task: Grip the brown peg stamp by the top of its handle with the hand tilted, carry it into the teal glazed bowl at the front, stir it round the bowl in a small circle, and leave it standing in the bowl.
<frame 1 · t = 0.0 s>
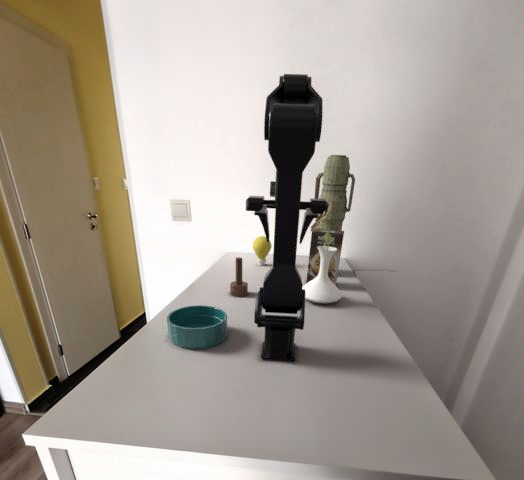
hand: (284, 242, 82), 15 cm above the table, tool pointing down, fingers open, 7 cm apart
flower in vase: (318, 300, 91), on the table, touching gripper
light bulb: (261, 265, 121), on the table
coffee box: (321, 285, 103), on the table
bowl: (198, 335, 70), on the table
brown peg stamp: (239, 293, 93), on the table
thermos: (323, 273, 115), on the table
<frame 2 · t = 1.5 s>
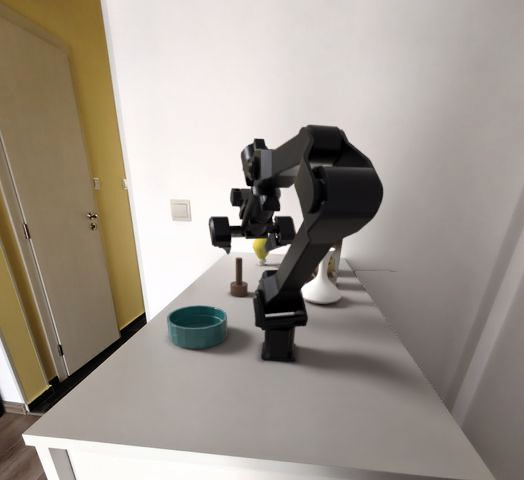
hand: (246, 251, 80), 13 cm above the table, tool tilted 45°, fingers open, 9 cm apart
flower in vase: (318, 301, 91), on the table
everything else where it was.
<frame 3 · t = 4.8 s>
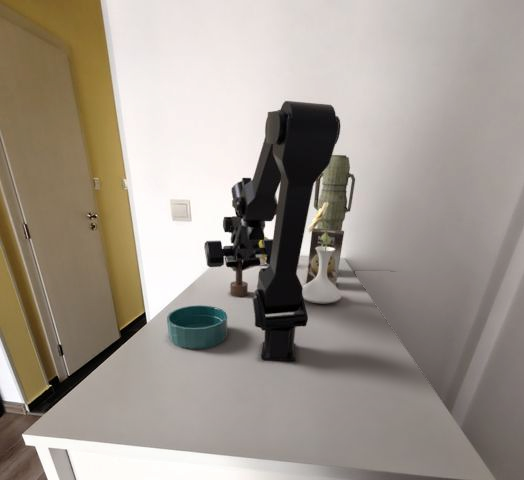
hand: (237, 269, 91), 7 cm above the table, tool tilted 45°, fingers closed on brown peg stamp
brown peg stamp: (239, 293, 93), on the table, touching gripper
everything else where it was.
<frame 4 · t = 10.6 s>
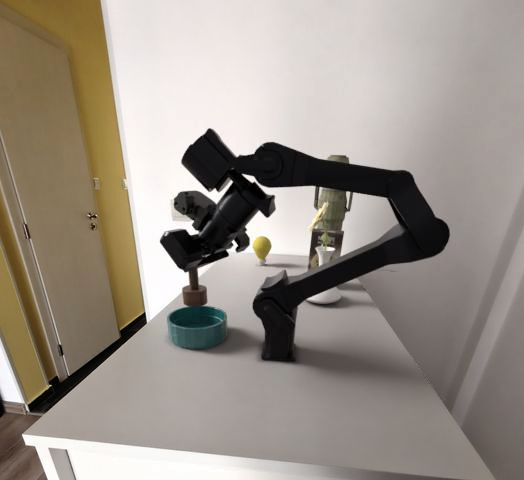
hand: (187, 269, 65), 14 cm above the table, tool tilted 45°, fingers closed on brown peg stamp
brown peg stamp: (195, 302, 67), point 7 cm above the table, touching gripper
everything else where it was.
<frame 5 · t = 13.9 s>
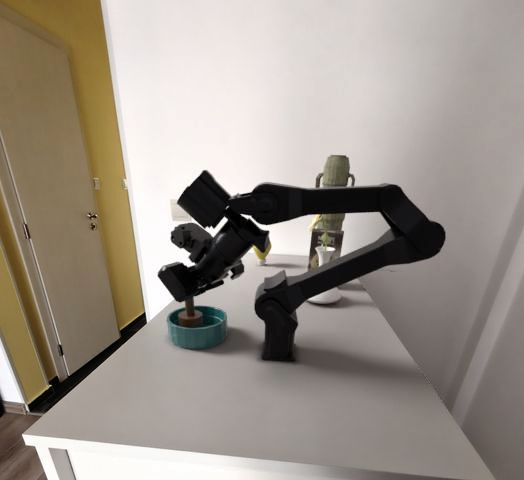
hand: (183, 296, 66), 9 cm above the table, tool tilted 45°, fingers closed on brown peg stamp
brown peg stamp: (191, 327, 69), point 2 cm above the table, touching gripper
everything else where it was.
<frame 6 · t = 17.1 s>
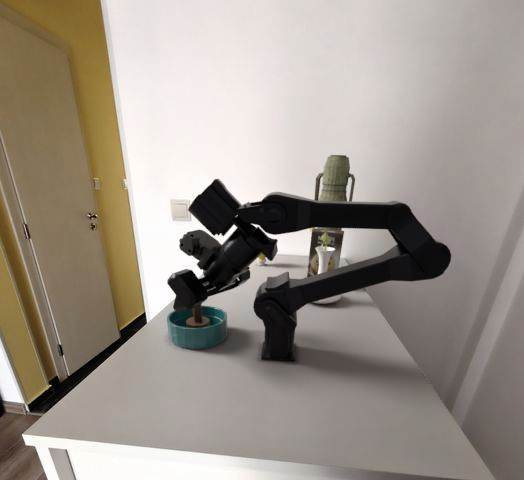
hand: (190, 301, 67), 7 cm above the table, tool tilted 45°, fingers open, 9 cm apart
brown peg stamp: (198, 333, 70), resting on bowl
everything else where it was.
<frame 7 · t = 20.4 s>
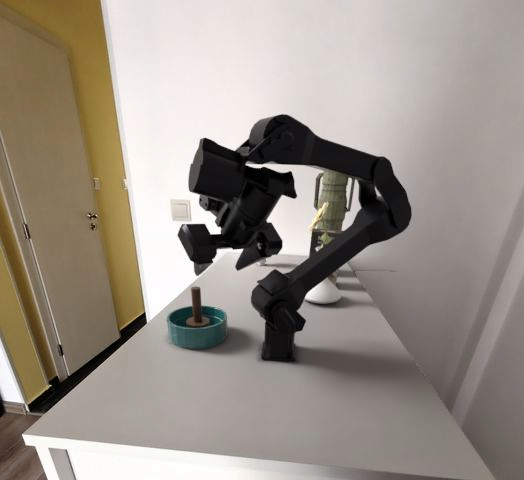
hand: (217, 271, 63), 14 cm above the table, tool tilted 40°, fingers open, 9 cm apart
nothing on the table moved.
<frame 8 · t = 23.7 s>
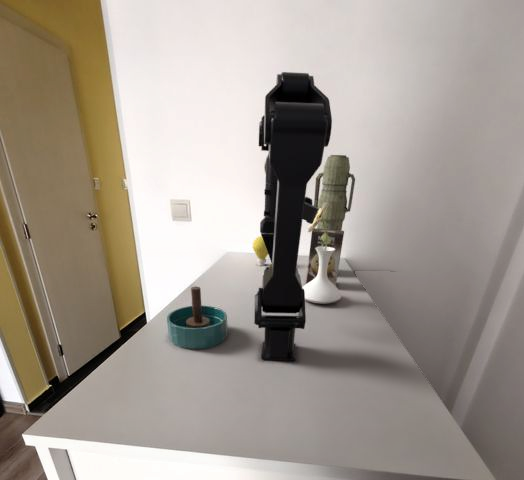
hand: (275, 259, 76), 13 cm above the table, tool pointing down, fingers open, 9 cm apart
nothing on the table moved.
at the end: brown peg stamp 0.1 cm off-centre in the bowl, point 0.5 cm above the bowl's base; brown peg stamp tilted 0°; the gripper is holding nothing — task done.
